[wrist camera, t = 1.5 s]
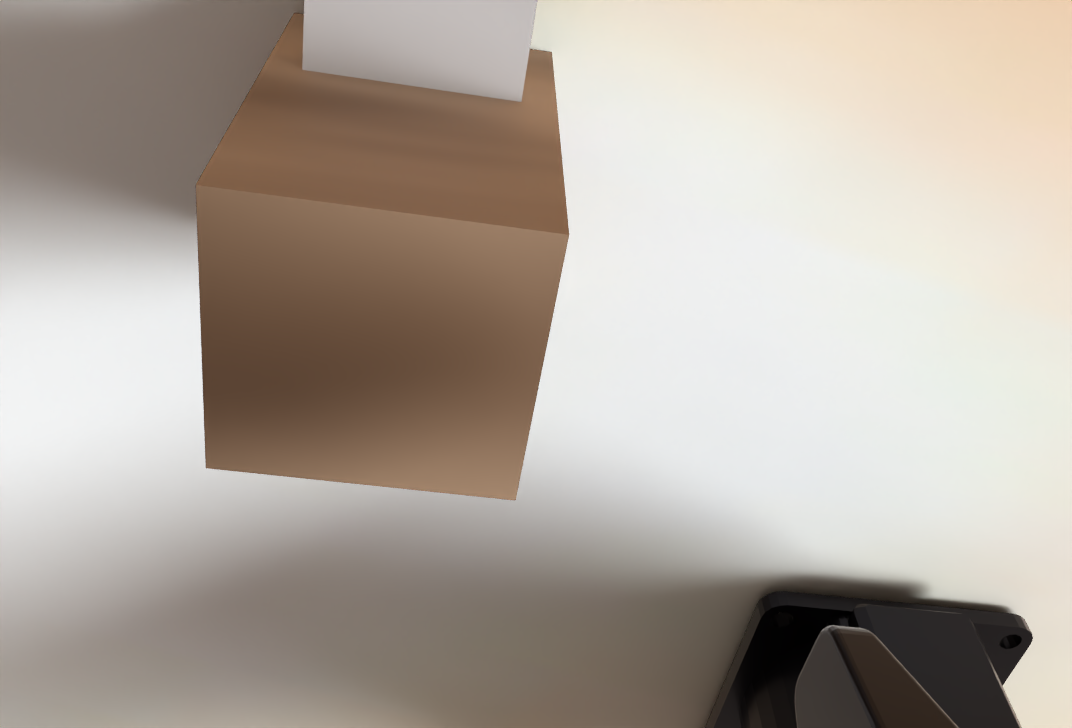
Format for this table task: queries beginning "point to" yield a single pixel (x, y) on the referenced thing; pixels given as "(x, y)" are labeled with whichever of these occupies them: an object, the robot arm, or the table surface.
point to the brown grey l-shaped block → (384, 249)
